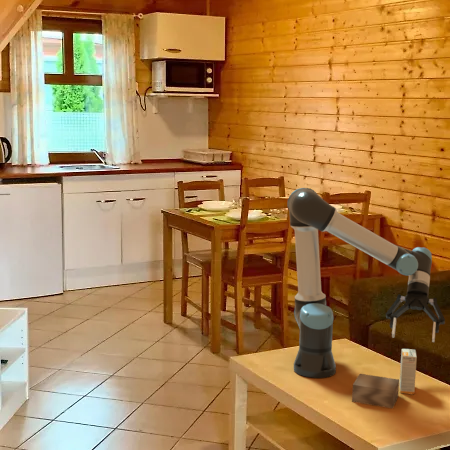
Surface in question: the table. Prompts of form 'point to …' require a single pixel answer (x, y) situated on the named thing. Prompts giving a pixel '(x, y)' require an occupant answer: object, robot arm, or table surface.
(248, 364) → the table surface
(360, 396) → the walnut block
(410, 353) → the supplement box
